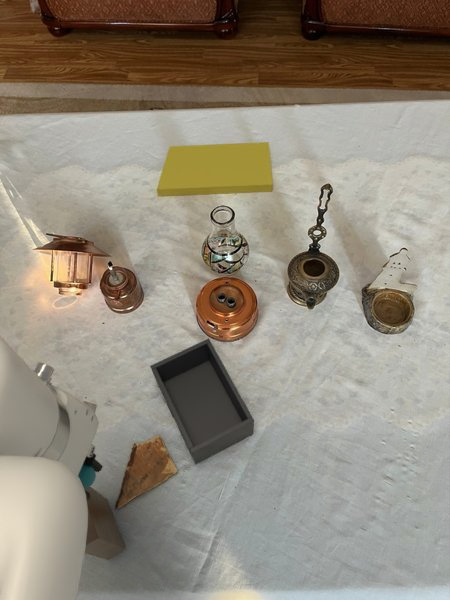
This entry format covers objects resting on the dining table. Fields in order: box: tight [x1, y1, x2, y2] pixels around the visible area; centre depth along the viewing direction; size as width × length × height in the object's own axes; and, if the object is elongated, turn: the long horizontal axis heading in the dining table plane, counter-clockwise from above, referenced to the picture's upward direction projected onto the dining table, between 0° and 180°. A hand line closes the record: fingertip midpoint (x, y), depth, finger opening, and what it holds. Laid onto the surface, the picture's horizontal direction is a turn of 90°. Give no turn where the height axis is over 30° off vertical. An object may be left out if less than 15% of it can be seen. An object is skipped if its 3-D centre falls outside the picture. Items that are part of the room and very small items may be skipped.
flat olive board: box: [156, 141, 274, 197], centre depth 112 cm, size 12×2×24 cm
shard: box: [114, 435, 179, 510], centre depth 82 cm, size 11×8×2 cm
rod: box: [78, 463, 97, 489], centre depth 53 cm, size 12×2×2 cm, turn 72°
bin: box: [149, 337, 255, 465], centre depth 84 cm, size 15×10×8 cm
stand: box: [84, 486, 127, 560], centre depth 71 cm, size 3×8×17 cm, turn 27°
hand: (82, 478), depth 55 cm, fingers closed on rod, 2 cm apart
